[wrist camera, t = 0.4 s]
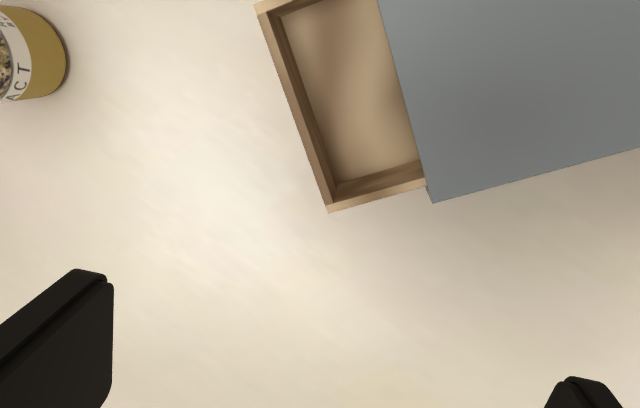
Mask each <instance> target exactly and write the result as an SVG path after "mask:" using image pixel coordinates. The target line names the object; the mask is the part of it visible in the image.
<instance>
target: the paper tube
mask: <svg viewBox="0 0 640 408" xmlns="http://www.w3.org/2000/svg"><path fill="white" fill-rule="evenodd" d="M65 68H66V58H65V53H64V49H63V46H62V43H61V41H60V39H59V37H58V36H57V34H56V33H55V31H54V30H53V29H52V28H51V26H50V25H49V24H48V23H47V22H46V21H45V20H44V19H42V18H41V17H40V16H38V15H37V14H35V13H33V12H31V11H29V10H26V9H23V8H19V7H11V6H3V5H0V103H5V102H10V101H16V100H23V99H30V98H37V97H42V96H45V95H48V94H50V93H52V92H53V91H54V90H55V89H56V88H57V87H58V86H59V85H60V83H61V81H62V79H63V77H64V74H65Z"/></svg>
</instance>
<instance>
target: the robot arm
mask: <svg viewBox="0 0 640 408" xmlns="http://www.w3.org/2000/svg"><path fill="white" fill-rule="evenodd" d="M113 305H114V287H113V285H112V284H111V283H107V278H106V276H105V275H103V274H100V273H95V272H91V271H86V270H81V269H73V270H71V271H70V272H68V273H67V274H66V275H64V276H63V277H62V278H60V279H59V280H58V281H57V282H55V283H54V284H53V285H51V286H50V287H49V288H47V289H46V290H45V291H43V292H42V293H41V294H40V295H38V296H37V297H36V298H34V299H33V300H32V301H30V302H29V303H28V304H27V305H25V306H24V307H23V308H21V309H20V310H19V311H17V312H16V313H15V314H14V315H12V316H11V317H10V318H8V319H7V320H6V321H4V322H3V323H2V324H0V408H100V407H101V406H102V404H103V403H104V401H105V400H106V398H107V396H108V394H109V391H110V388H111V384H112V351H113ZM544 408H623V407H622V406H621V405H620V403H619V402H618V401H617V399H616V398H615V397H614V395H613V394H612V393H611V391H610V390H609V389H608V388H607V387H606V386H605V385H604V384H603V383H601V382H598V381H593V380H589V379H584V378H580V377H575V376H569V377H568V378H566V379H565V380H564V382H559V383H557V385H556V386H555V388H554V390H553V392H552V393H551V395H550V397H549V399H548V401H547V403H546V405H545V407H544Z"/></svg>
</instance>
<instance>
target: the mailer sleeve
mask: <svg viewBox="0 0 640 408" xmlns="http://www.w3.org/2000/svg"><path fill="white" fill-rule="evenodd" d="M377 3H378V7H379V10H380V14H381V18H382V21H383V25H384V29H385V32H386V36H387V40H388V43H389V47H390V51H391V54H392V58H393V62H394V66H395V69H396V73H397V77H398V80H399V84H400V88H401V91H402V95H403V99H404V102H405V106H406V110H407V113H408V117H409V121H410V124H411V128H412V132H413V135H414V139H415V143H416V146H417V150H418V154H419V158H420V161H421V165H422V169H423V172H424V176H425V180H426V183H427V186H425V187H426V190H427V192H428V194H429V197H430V199H431V201H432V204H433V203H437V202H440V201H444V200H448V199H451V198H455V197H459V196H462V195H466V194H470V193H473V192H477V191H481V190H484V189H488V188H492V187H495V186H499V185H503V184H507V183H510V182H514V181H518V180H521V179H525V178H529V177H532V176H536V175H540V174H543V173H547V172H551V171H554V170H558V169H562V168H565V167H569V166H573V165H576V164H580V163H584V162H587V161H591V160H595V159H598V158H602V157H606V156H609V155H613V154H617V153H620V152H624V151H628V150H631V149H635V148H639V147H640V0H377Z"/></svg>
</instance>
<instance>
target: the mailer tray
mask: <svg viewBox="0 0 640 408" xmlns="http://www.w3.org/2000/svg"><path fill="white" fill-rule="evenodd" d="M253 6H254V9H255V12H256V15H257V17H258V20H259V23H260V26H261V29H262V31H263V34H264V37H265V40H266V42H267V45H268V48H269V51H270V54H271V56H272V59H273V62H274V65H275V67H276V70H277V73H278V76H279V79H280V81H281V84H282V87H283V90H284V92H285V95H286V98H287V101H288V104H289V106H290V109H291V112H292V115H293V117H294V120H295V123H296V126H297V129H298V131H299V134H300V137H301V140H302V142H303V145H304V148H305V151H306V154H307V156H308V159H309V162H310V165H311V167H312V170H313V173H314V176H315V179H316V181H317V184H318V187H319V190H320V192H321V195H322V198H323V201H324V204H325V206H326V209H327V212H328V213H332V212H335V211H339V210H342V209H346V208H349V207H353V206H357V205H360V204H364V203H367V202H371V201H374V200H378V199H381V198H385V197H388V196H392V195H396V194H399V193H403V192H406V191H410V190H413V189H417V188H420V187H424V186H427V183H426V180H425V176H424V172H423V169H422V165H421V161H420V158H419V154H418V150H417V146H416V143H415V139H414V135H413V132H412V128H411V124H410V121H409V117H408V113H407V110H406V106H405V102H404V99H403V95H402V91H401V88H400V84H399V80H398V77H397V73H396V69H395V66H394V62H393V58H392V54H391V51H390V47H389V43H388V40H387V36H386V32H385V29H384V25H383V21H382V18H381V14H380V10H379V7H378V3H377V0H264V1H261V2H259V3H257V4H254V5H253Z"/></svg>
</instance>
